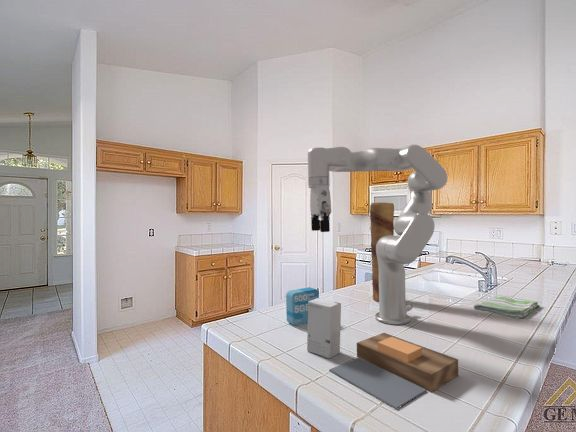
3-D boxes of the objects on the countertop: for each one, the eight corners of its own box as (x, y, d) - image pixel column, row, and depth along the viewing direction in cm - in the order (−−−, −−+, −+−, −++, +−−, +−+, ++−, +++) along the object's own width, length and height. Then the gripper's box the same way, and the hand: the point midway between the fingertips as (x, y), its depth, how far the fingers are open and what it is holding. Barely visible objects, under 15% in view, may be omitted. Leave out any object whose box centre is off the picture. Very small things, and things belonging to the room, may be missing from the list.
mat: (358, 358, 87) (358, 357, 87) (426, 391, 70) (426, 389, 70) (329, 370, 80) (329, 369, 80) (396, 409, 64) (396, 407, 64)
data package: (292, 326, 112) (292, 293, 112) (286, 323, 116) (285, 291, 116) (319, 320, 119) (319, 288, 118) (312, 317, 122) (312, 286, 122)
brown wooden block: (384, 345, 95) (383, 332, 95) (458, 375, 77) (458, 359, 77) (356, 356, 88) (356, 342, 88) (431, 392, 70) (431, 374, 70)
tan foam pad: (377, 349, 83) (377, 342, 83) (391, 343, 87) (391, 336, 87) (408, 362, 76) (407, 354, 76) (422, 355, 79) (421, 347, 79)
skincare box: (306, 351, 92) (305, 301, 92) (318, 344, 96) (317, 296, 96) (331, 359, 86) (330, 306, 86) (342, 352, 91) (341, 301, 91)
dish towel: (472, 310, 129) (472, 301, 129) (493, 299, 143) (493, 292, 143) (522, 321, 115) (522, 311, 115) (540, 308, 129) (540, 299, 129)
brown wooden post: (375, 295, 152) (374, 203, 152) (397, 298, 146) (396, 202, 145) (367, 300, 144) (365, 202, 143) (390, 304, 137) (389, 201, 137)
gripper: (338, 180, 104) (339, 232, 104) (320, 185, 121) (322, 229, 121) (316, 180, 102) (318, 232, 102) (302, 185, 119) (303, 230, 119)
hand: (320, 231), depth 112 cm, fingers open, 9 cm apart
